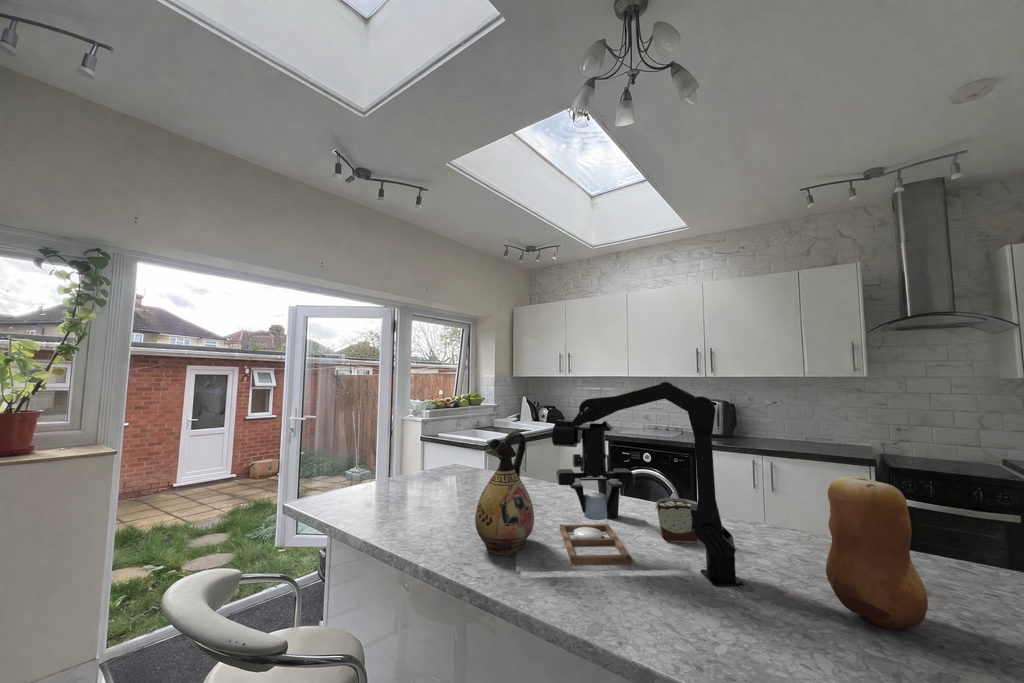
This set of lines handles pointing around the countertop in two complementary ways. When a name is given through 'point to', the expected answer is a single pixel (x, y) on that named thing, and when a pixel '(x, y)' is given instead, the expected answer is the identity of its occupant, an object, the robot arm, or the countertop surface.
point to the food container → (676, 520)
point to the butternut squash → (873, 553)
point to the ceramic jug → (505, 501)
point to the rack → (595, 541)
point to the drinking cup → (603, 489)
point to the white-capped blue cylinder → (595, 506)
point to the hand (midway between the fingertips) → (595, 512)
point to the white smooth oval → (587, 533)
